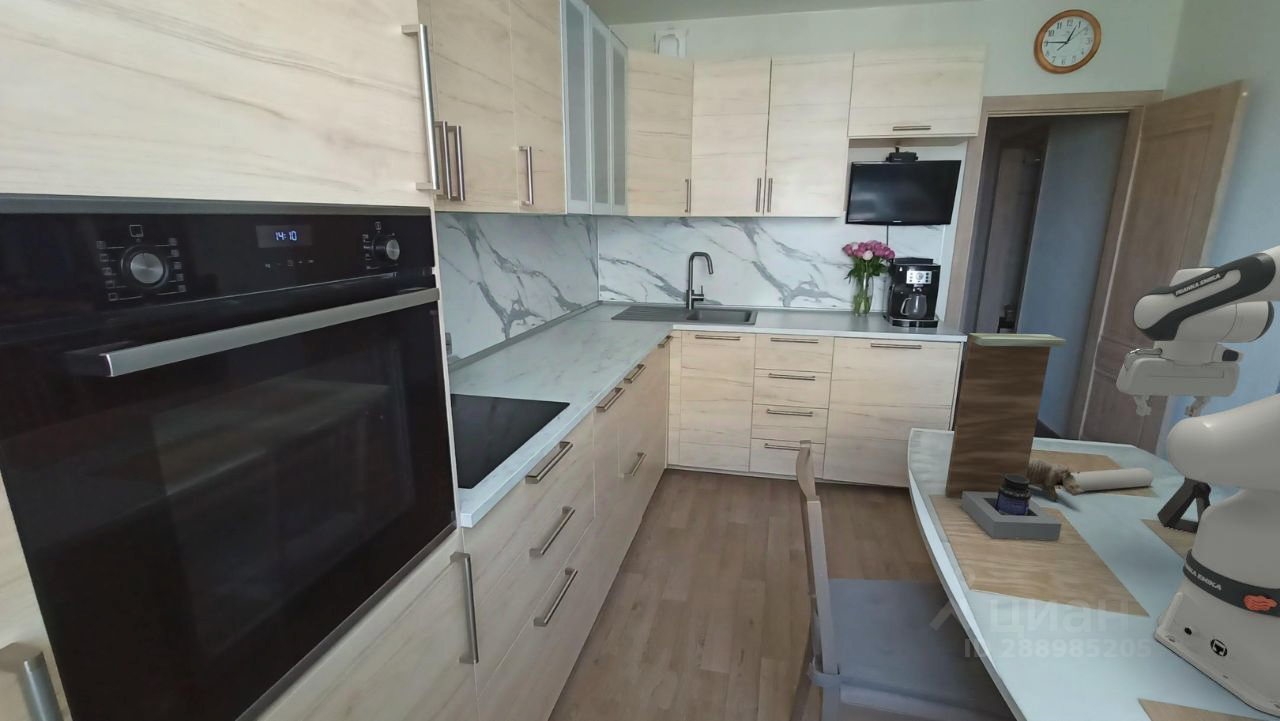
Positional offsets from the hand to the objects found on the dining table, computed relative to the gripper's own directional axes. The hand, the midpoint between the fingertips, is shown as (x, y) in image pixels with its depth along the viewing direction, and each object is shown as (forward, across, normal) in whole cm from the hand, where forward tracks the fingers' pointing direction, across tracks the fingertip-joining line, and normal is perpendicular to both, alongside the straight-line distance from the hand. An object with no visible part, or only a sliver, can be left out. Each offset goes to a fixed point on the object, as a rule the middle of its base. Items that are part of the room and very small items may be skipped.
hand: (1167, 415), depth 114 cm
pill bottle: (+29, -22, +7) cm, 38 cm away
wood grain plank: (+29, -22, +17) cm, 40 cm away
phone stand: (+29, +17, +8) cm, 35 cm away
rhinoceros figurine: (+29, -7, +21) cm, 37 cm away
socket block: (+29, -23, +7) cm, 38 cm away
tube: (+30, +13, +27) cm, 42 cm away
